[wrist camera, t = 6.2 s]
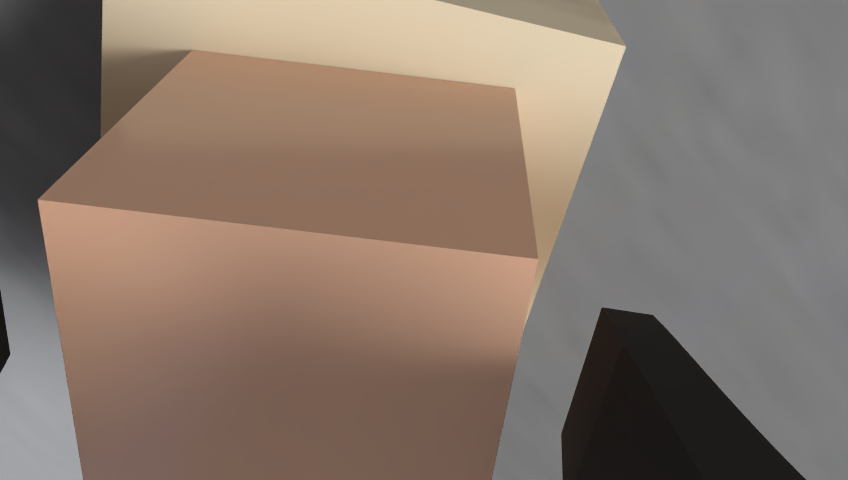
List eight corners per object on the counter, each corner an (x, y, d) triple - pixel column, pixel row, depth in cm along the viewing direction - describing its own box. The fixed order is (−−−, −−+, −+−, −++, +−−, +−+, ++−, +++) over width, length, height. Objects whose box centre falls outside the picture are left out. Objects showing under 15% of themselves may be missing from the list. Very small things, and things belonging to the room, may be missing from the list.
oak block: (486, 322, 17) (489, 422, 14) (156, 252, 16) (97, 341, 14) (595, -6, 13) (626, 46, 11) (178, -109, 13) (104, -81, 10)
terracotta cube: (471, 344, 13) (470, 578, 9) (204, 312, 13) (92, 535, 9) (515, 88, 11) (539, 258, 7) (192, 50, 11) (37, 199, 7)
